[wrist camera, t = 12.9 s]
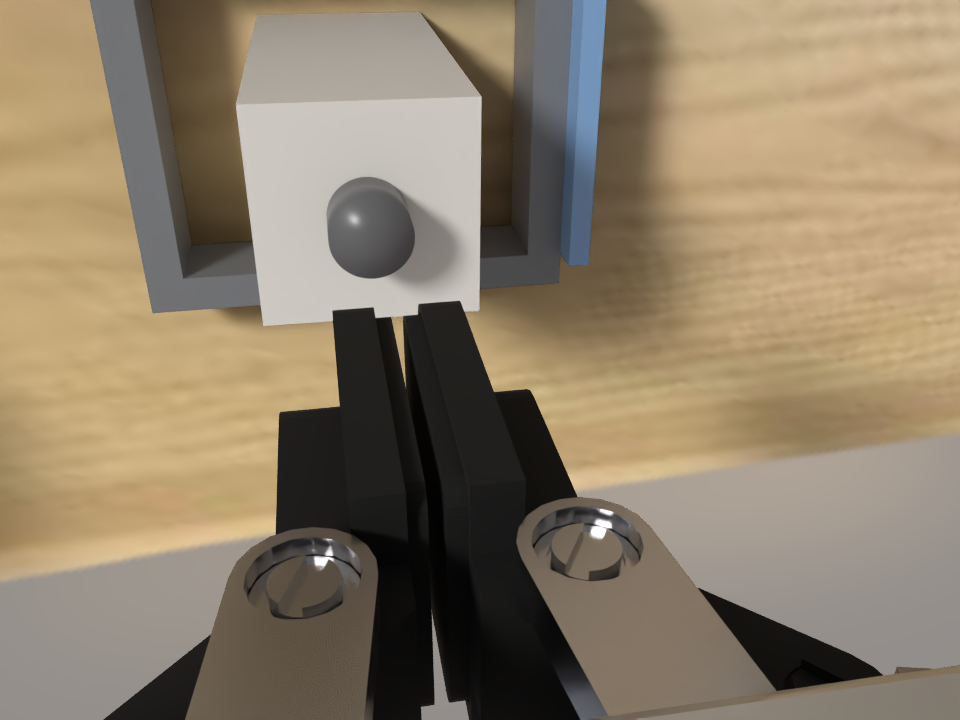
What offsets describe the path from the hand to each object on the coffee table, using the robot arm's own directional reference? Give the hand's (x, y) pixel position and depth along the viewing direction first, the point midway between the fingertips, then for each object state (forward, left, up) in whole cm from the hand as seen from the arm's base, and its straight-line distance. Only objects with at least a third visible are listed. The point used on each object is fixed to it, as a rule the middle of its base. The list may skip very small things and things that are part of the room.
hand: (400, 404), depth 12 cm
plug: (0, 0, -17) cm, 17 cm away
